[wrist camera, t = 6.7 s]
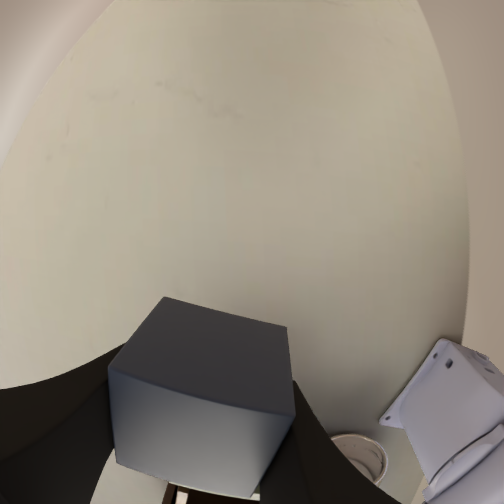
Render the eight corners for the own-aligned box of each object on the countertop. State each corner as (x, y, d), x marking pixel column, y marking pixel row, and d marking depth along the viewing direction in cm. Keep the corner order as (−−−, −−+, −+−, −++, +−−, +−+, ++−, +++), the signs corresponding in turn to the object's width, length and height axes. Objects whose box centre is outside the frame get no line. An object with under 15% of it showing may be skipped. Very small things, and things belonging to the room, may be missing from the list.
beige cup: (294, 546, 20) (312, 499, 16) (291, 501, 27) (304, 435, 22) (355, 538, 20) (399, 484, 15) (347, 495, 26) (379, 426, 22)
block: (163, 295, 10) (106, 365, 6) (287, 325, 10) (297, 415, 6) (153, 386, 11) (115, 463, 7) (256, 413, 11) (251, 499, 7)
